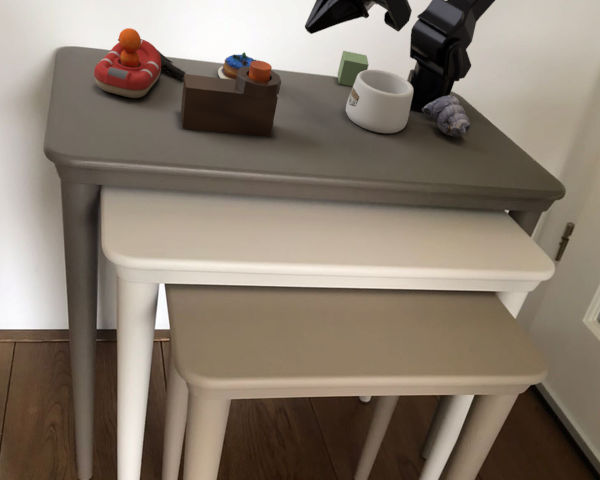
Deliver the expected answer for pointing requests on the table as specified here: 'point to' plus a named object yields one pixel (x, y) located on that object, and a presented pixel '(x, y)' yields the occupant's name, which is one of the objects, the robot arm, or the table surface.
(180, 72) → the bird model
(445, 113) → the grub
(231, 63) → the dessert
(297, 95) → the table surface
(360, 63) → the green cube block
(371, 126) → the mug
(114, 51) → the toy boat
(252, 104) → the brown button base
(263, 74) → the button
